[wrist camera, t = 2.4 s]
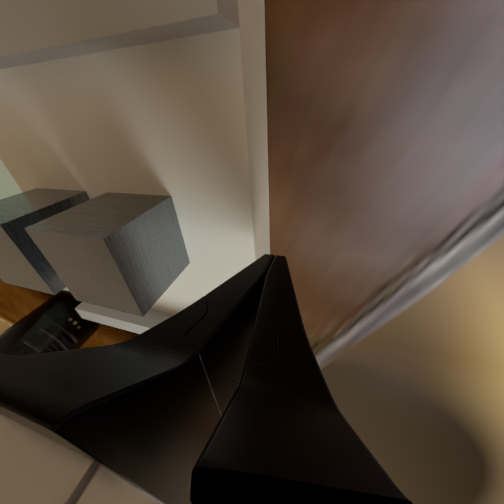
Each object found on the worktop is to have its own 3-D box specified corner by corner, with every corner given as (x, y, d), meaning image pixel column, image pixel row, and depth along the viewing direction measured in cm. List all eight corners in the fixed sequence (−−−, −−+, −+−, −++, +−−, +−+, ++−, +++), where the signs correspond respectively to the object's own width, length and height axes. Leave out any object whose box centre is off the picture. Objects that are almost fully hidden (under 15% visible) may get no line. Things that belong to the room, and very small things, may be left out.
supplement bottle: (86, 330, 32) (-16, 426, 23) (47, 296, 30) (-85, 389, 20) (111, 326, 29) (3, 437, 20) (70, 288, 26) (-77, 395, 17)
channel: (271, 312, 18) (254, 365, 14) (122, 282, 22) (81, 318, 19) (264, 0, 8) (209, -68, 5) (2, 53, 12) (-129, 38, 9)
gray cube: (115, 251, 14) (54, 295, 11) (70, 244, 16) (4, 282, 12) (85, 190, 12) (-1, 224, 9) (35, 188, 13) (-56, 217, 10)
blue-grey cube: (190, 262, 13) (143, 316, 10) (134, 254, 14) (76, 300, 11) (171, 195, 11) (102, 238, 8) (106, 192, 12) (23, 228, 9)
